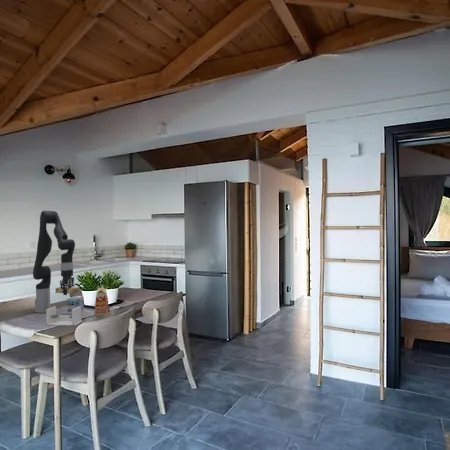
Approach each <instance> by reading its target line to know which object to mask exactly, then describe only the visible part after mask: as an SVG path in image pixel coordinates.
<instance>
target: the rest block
mask: <svg viewBox="0 0 450 450" xmlns="http://www.w3.org/2000/svg"><path fill="white" fill-rule="evenodd" d="M59 315H72V313H67V312H64V311H63V312H60V313H59Z"/></svg>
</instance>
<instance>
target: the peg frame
mask: <svg viewBox="0 0 450 450" xmlns="http://www.w3.org/2000/svg"><path fill="white" fill-rule="evenodd" d="M45 313H46V319H45V320H46V324H45V326H77V325H79V324H81V323H82V322H83V320H82V311H81V306H79V307H77V308H75V309H72V315H60V314H57V306H56V305H53V306H52V307H51V306H50V308H49V309H46V312H45Z"/></svg>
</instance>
